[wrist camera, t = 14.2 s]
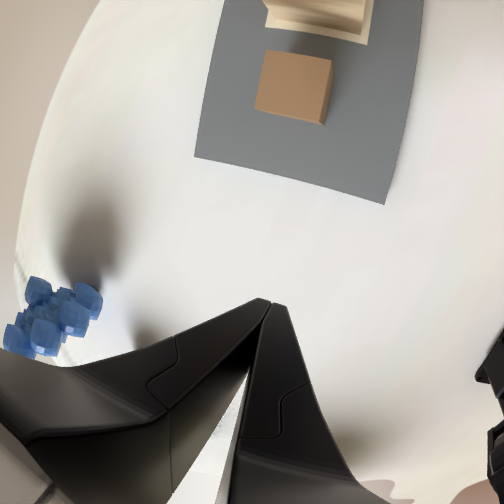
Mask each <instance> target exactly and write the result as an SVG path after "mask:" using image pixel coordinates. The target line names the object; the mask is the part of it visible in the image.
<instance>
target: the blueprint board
mask: <svg viewBox="0 0 504 504" xmlns="http://www.w3.org/2000/svg"><path fill="white" fill-rule="evenodd" d="M422 13H423V0H366V5H365V11H364V18H363V24H362V30H361V35H357V34H353V33H349V32H345V31H340V30H335V29H330V28H325V27H320V26H314V25H308V24H302V23H295V22H287V21H279V20H275V19H274V17H273V16H272V14H271V13H270V11H269V10H268V8H267V7H266V5H265V4H264V3H263V1H262V0H225V1H224V5H223V9H222V14H221V18H220V22H219V26H218V31H217V35H216V39H215V44H214V49H213V53H212V58H211V63H210V68H209V73H208V78H207V83H206V88H205V94H204V99H203V105H202V110H201V116H200V122H199V128H198V134H197V140H196V147H195V153H194V157H197V158H202V159H207V160H212V161H217V162H222V163H227V164H231V165H236V166H241V167H245V168H250V169H254V170H258V171H263V172H267V173H271V174H275V175H279V176H283V177H287V178H291V179H295V180H299V181H303V182H307V183H311V184H314V185H318V186H322V187H325V188H329V189H333V190H336V191H340V192H343V193H347V194H350V195H353V196H357V197H360V198H363V199H367V200H370V201H373V202H376V203H380V204H383V205H384V204H385V201H386V197H387V194H388V190H389V187H390V183H391V180H392V176H393V172H394V168H395V165H396V161H397V157H398V153H399V149H400V145H401V140H402V136H403V132H404V127H405V123H406V118H407V113H408V108H409V103H410V98H411V93H412V87H413V81H414V75H415V69H416V63H417V56H418V49H419V41H420V33H421V23H422Z"/></svg>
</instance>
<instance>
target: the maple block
mask: <svg viewBox="0 0 504 504" xmlns="http://www.w3.org/2000/svg"><path fill="white" fill-rule="evenodd" d="M262 1H263V3H264V4H265V5H266V7H267V8H268V10H269V11H270V13H271V14H272V16H273V17H274V19H275V20H279V21H287V22H295V23H302V24H308V25H314V26H320V27H325V28H330V29H335V30H340V31H345V32H349V33H353V34H357V35H361V30H362V24H363V18H364V11H365V5H366V0H262Z"/></svg>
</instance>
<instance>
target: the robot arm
mask: <svg viewBox="0 0 504 504" xmlns="http://www.w3.org/2000/svg"><path fill="white" fill-rule="evenodd" d="M248 371H249V372H248ZM247 373H248V376H247V380H246V384H245V388H244V392H243V396H242V400H241V404H240V408H239V412H238V416H237V420H236V424H235V428H234V432H233V436H232V440H231V444H230V448H229V452H228V456H227V460H226V464H225V467H224V471H223V475H222V479H221V483H220V486H219V490H218V494H217V498H216V501H215V504H390V503H389V502H387V501H385V500H384V499H382V498H380V497H378V496H377V495H375V494H373V493H372V492H370V491H369V490H367V489H366V488H364V487H363V486H362V485H361V484H360V483H359V482H358V481H357V480H356V479H355V477H354V476H353V475H352V473H351V471H350V470H349V468H348V466H347V464H346V462H345V460H344V458H343V456H342V454H341V452H340V450H339V448H338V446H337V444H336V442H335V440H334V438H333V436H332V434H331V432H330V430H329V428H328V425H327V423H326V421H325V419H324V417H323V414H322V412H321V410H320V407H319V404H318V402H317V399H316V396H315V393H314V390H313V386H312V384H311V381H310V377H309V374H308V371H307V368H306V365H305V362H304V359H303V355H302V352H301V349H300V346H299V343H298V340H297V337H296V334H295V331H294V327H293V324H292V321H291V318H290V315H289V312H288V309H287V307H286V306H285V305H281V304H278V303H271V302H270V301H268V300H265V299H262V298H256V299H254V300H252V301H250V302H247V303H245V304H243V305H241V306H239V307H237V308H234V309H232V310H230V311H228V312H226V313H223V314H221V315H219V316H217V317H215V318H212V319H210V320H208V321H206V322H203V323H201V324H199V325H197V326H194V327H192V328H190V329H188V330H185V331H183V332H181V333H178V334H176V335H174V337H173V336H171V337H169V338H166V339H164V340H162V341H159V342H157V343H154V344H152V345H149V346H146V347H144V348H140V349H137V350H134V351H131V352H128V353H125V354H121V355H117V356H114V357H110V358H107V359H103V360H99V361H96V362H92V363H88V364H84V365H80V366H74V367H59V366H53V365H49V364H46V363H43V362H40V361H36V360H33V359H30V358H27V357H24V356H22V355H19V354H16V353H13V352H10V351H8V350H5V349H2V348H0V504H166V503H167V502H168V500H169V499H170V497H171V496H172V493H174V491H175V490H176V488H177V487H178V485H179V484H180V482H181V481H182V479H183V478H184V476H185V475H186V473H187V472H188V470H189V469H190V467H191V466H192V464H193V463H194V461H195V460H196V458H197V456H198V455H199V453H200V452H201V450H202V449H203V447H204V445H205V444H206V442H207V441H208V439H209V437H210V436H211V434H212V433H213V431H214V429H215V428H216V426H217V424H218V423H219V421H220V420H221V418H222V416H223V415H224V413H225V411H226V410H227V408H228V406H229V405H230V403H231V401H232V400H233V398H234V396H235V395H236V393H237V391H238V389H239V388H240V386H241V384H242V383H243V381H244V379H245V377H246V375H247ZM475 380H476V381H477V382H481V383H487V384H491V386H492V389H493V392H494V394H495V397H496V398H498V401H499V404H500V407H501V410H502V412H503V415H504V331H503V333H502V334H501V336H500V338H499V339H498V341H497V343H496V344H495V346H494V347H493V349H492V351H491V352H490V354H489V355H488V357H487V358H486V360H485V361H484V363H483V364H482V366H481V367H480V369H479V370H478V371H477V373H476V374H475ZM487 434H488V465H487V477H488V479H489V482H490V484H491V485H492V487H493V489H494V490H495V492H496V493H497V494H498V497H499V502H500V504H504V420H503V421H501V422H500V423H499V424H498V425H497V426H495V427H493V428H491V429H490V430H489V431H488V432H487Z"/></svg>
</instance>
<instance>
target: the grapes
mask: <svg viewBox="0 0 504 504" xmlns="http://www.w3.org/2000/svg"><path fill="white" fill-rule="evenodd" d="M25 300H26V302H27V303H28V304H29V306H28V308H27V310H26V309H24V312H23V313H21V312H18V315H17V318H16V321H15V325H11V324H7V327H6V329H5V333H4V339H3V345H4V348H5V350H8V351H10V352H13V353H16V354H19V355H22V356H24V357H27V358H30V359H33V360H35V357H36V353H38V354H41V355H44V356H56V357H57V355H58V352H59V349H60V346H61V343H65V341H66V338H67V335H71V336H75V337H83V338H84V336H85V333H86V331H87V328H88V326H89V320H90V319H92V320H97V319H98V316H99V314H100V312H101V309H102V304H103V298H102V296H101V294H100V293H99V292H97V291H96V290H95V289H94V288H93V287H91V286H90V285H88V284H84V283H80V282H76V284H75V287H74V289H73V290H71V289H67V288H63V287H60V289H57V292H53V291H52V287H51V284H50V283H49V282H47V281H46V280H44V279H41V278H38V277H34V276H31V277H30V279H29V281H28V284H27V287H26V291H25Z"/></svg>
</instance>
